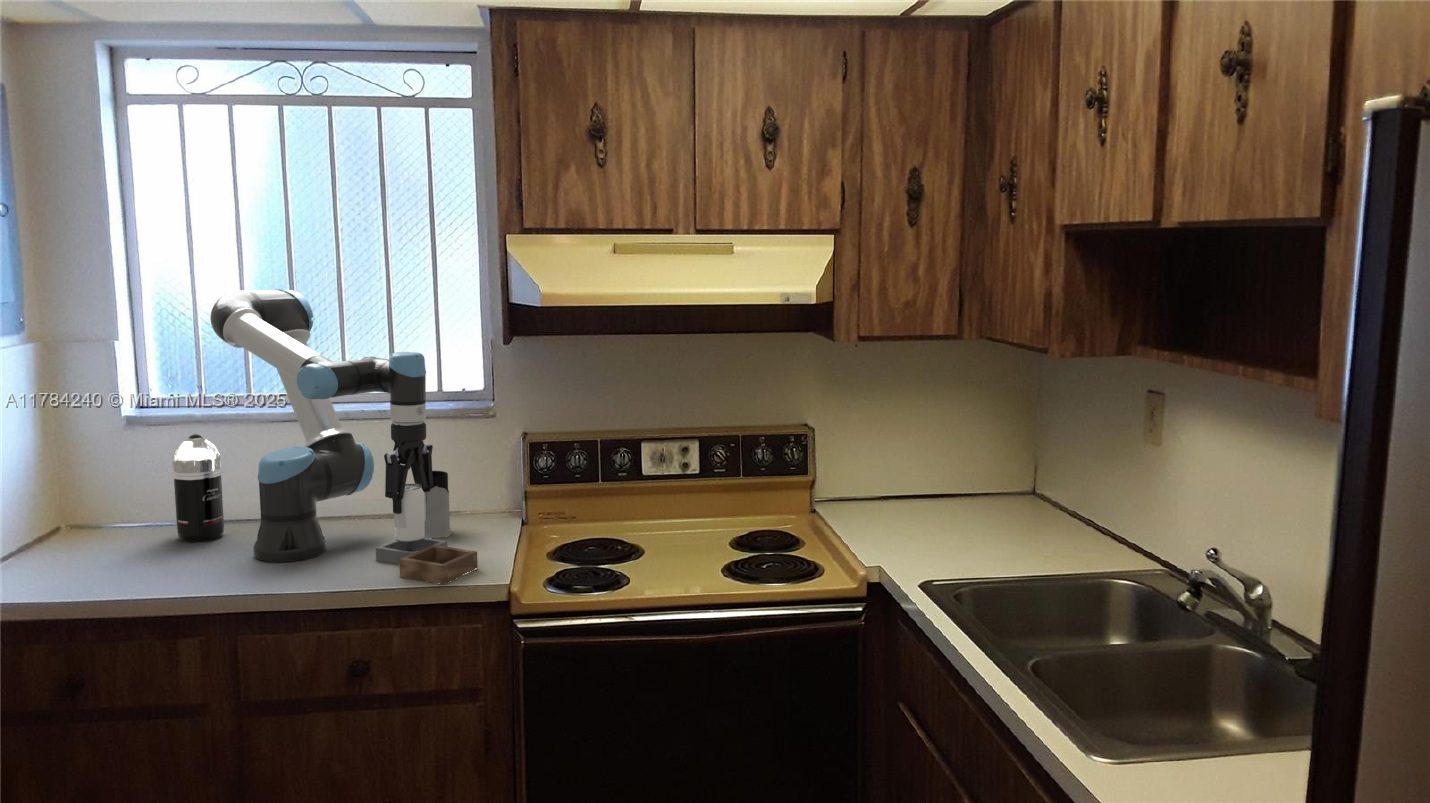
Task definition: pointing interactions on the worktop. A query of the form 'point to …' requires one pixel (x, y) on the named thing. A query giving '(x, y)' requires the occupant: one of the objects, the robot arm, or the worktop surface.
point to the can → (412, 515)
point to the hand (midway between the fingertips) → (410, 523)
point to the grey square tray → (404, 549)
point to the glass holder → (437, 507)
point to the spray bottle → (198, 490)
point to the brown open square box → (438, 564)
